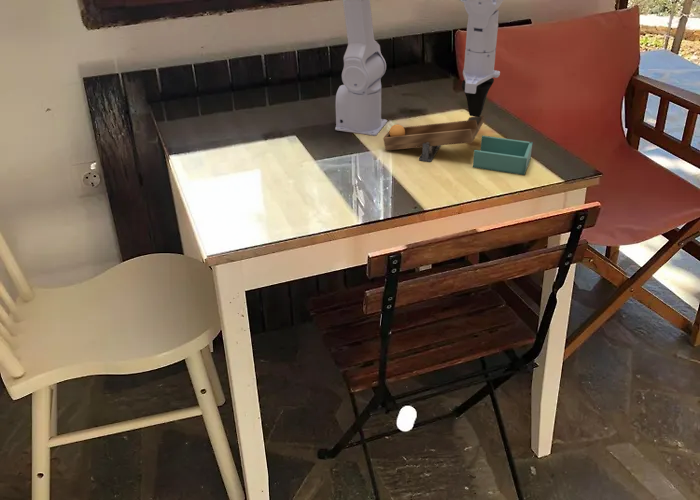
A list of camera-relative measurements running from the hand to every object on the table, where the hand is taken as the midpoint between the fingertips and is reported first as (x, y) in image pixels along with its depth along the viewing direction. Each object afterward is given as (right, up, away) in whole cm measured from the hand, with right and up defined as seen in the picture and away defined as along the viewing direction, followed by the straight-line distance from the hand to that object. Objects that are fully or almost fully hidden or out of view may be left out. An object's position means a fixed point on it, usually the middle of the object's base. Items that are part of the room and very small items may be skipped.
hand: (475, 115), depth 145 cm
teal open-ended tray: (+5, -10, -3) cm, 11 cm away
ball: (-16, -3, +2) cm, 16 cm away
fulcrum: (-9, -7, +1) cm, 12 cm away
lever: (-8, -4, +2) cm, 9 cm away
